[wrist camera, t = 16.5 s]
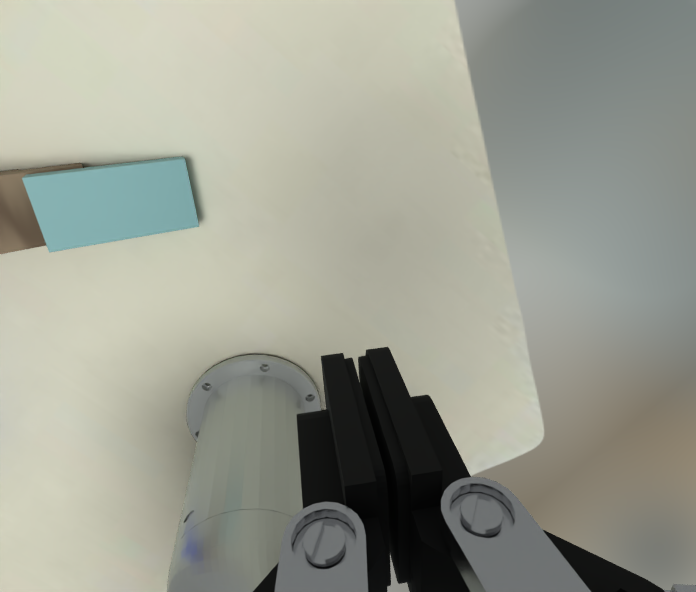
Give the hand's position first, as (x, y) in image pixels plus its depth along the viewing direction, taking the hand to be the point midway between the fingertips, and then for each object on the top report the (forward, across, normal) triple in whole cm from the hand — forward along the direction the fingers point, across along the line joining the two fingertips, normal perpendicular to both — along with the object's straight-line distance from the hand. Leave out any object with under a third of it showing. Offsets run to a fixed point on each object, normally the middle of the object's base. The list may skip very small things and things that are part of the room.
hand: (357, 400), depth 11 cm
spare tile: (+26, +8, 0) cm, 28 cm away
